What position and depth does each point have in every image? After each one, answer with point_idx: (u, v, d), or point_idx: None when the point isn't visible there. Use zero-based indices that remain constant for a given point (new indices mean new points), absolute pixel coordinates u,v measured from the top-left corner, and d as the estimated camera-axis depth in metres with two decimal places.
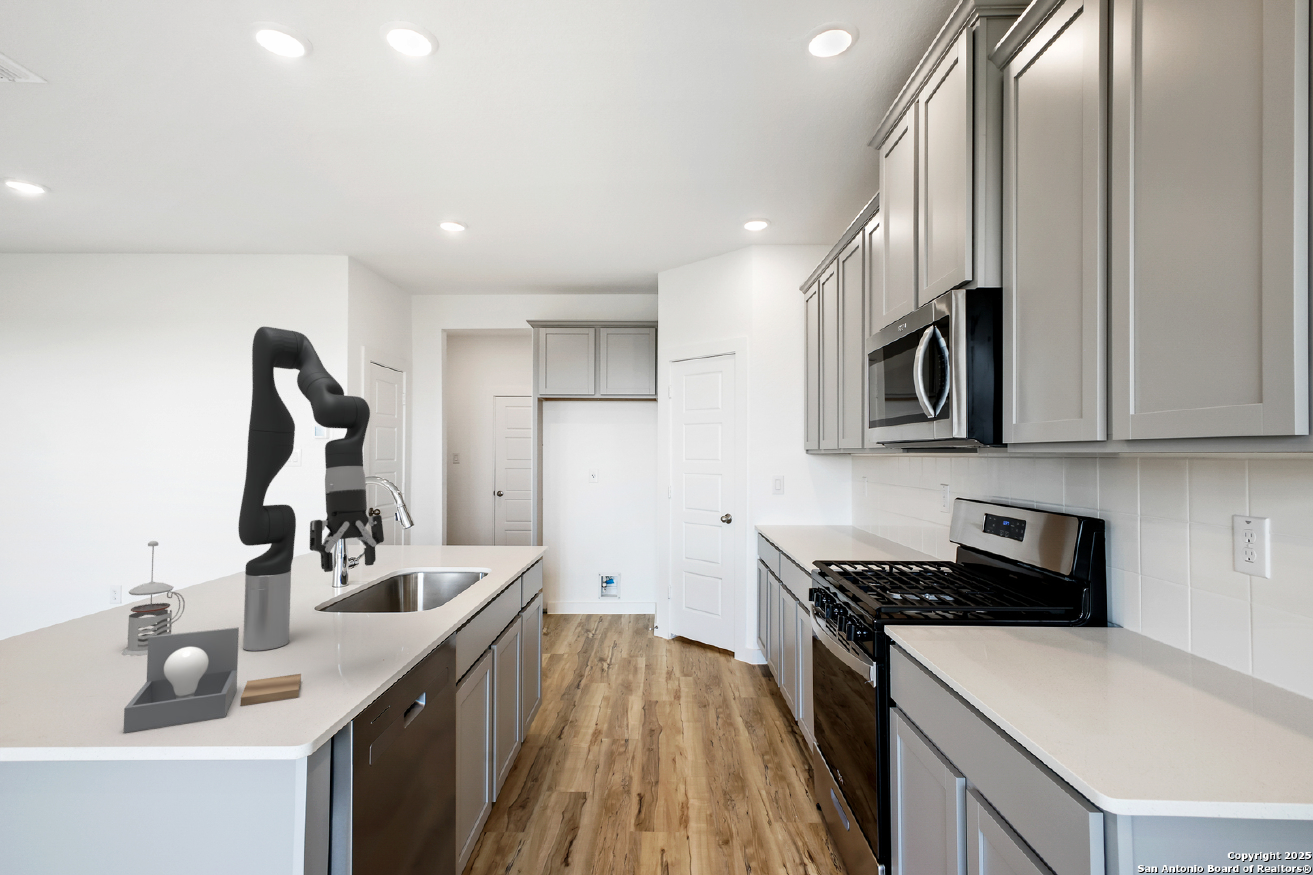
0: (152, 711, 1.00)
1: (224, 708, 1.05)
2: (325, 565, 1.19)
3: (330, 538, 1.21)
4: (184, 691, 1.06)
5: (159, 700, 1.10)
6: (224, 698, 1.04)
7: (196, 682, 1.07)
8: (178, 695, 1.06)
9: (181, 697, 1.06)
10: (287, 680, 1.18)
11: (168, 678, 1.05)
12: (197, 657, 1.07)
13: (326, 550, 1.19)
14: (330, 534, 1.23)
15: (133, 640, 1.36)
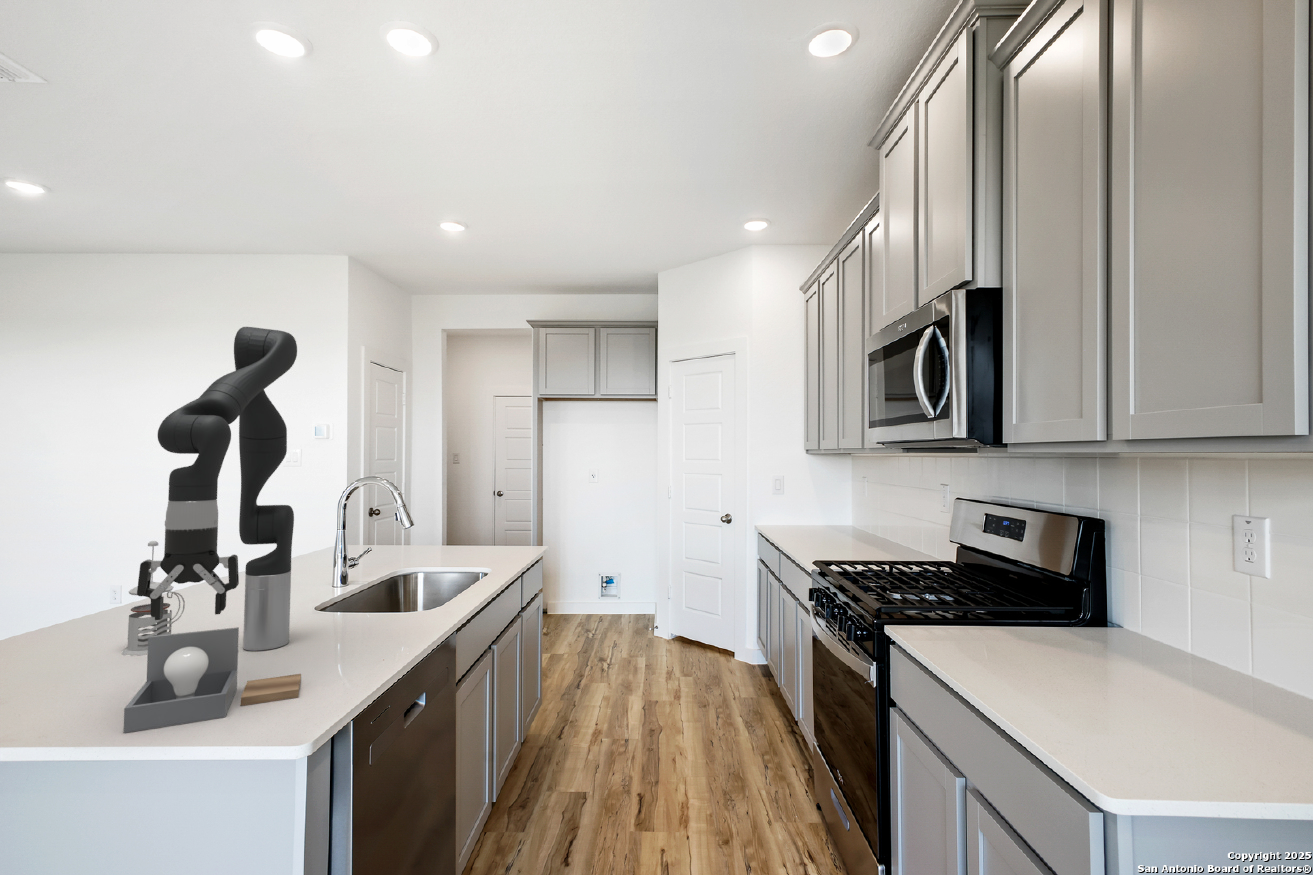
0: (152, 711, 1.00)
1: (224, 708, 1.05)
2: (151, 613, 1.05)
3: None
4: (184, 691, 1.06)
5: (159, 700, 1.10)
6: (224, 698, 1.04)
7: (196, 682, 1.07)
8: (178, 695, 1.06)
9: (181, 697, 1.06)
10: (287, 680, 1.18)
11: (168, 678, 1.05)
12: (197, 657, 1.07)
13: (151, 596, 1.04)
14: None
15: (133, 640, 1.36)
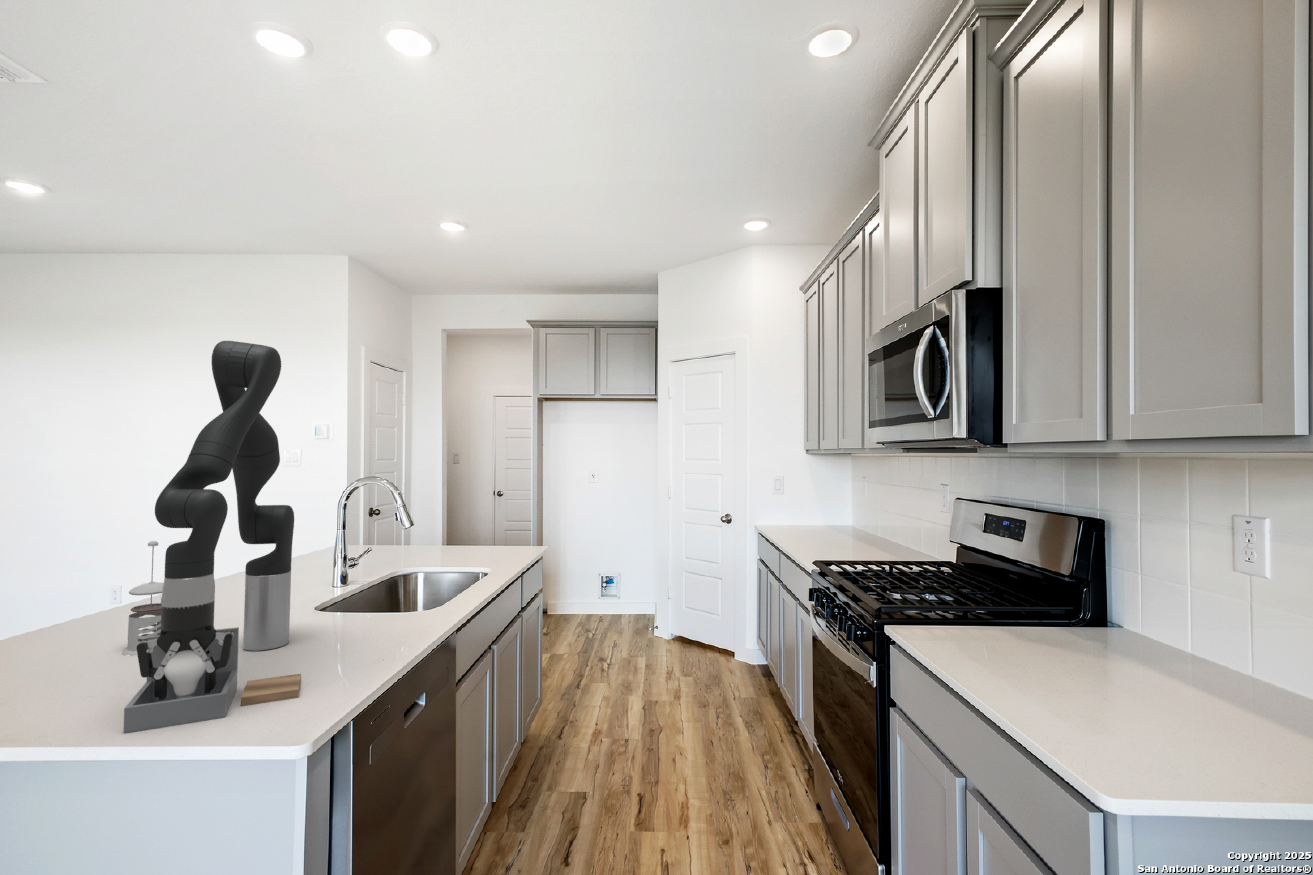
0: (152, 711, 1.00)
1: (224, 708, 1.05)
2: (155, 693, 1.05)
3: None
4: (184, 691, 1.06)
5: (159, 700, 1.10)
6: (224, 698, 1.04)
7: (196, 682, 1.07)
8: (178, 695, 1.06)
9: (181, 697, 1.06)
10: (287, 680, 1.18)
11: (168, 678, 1.05)
12: (197, 657, 1.07)
13: (155, 677, 1.05)
14: None
15: (133, 640, 1.36)
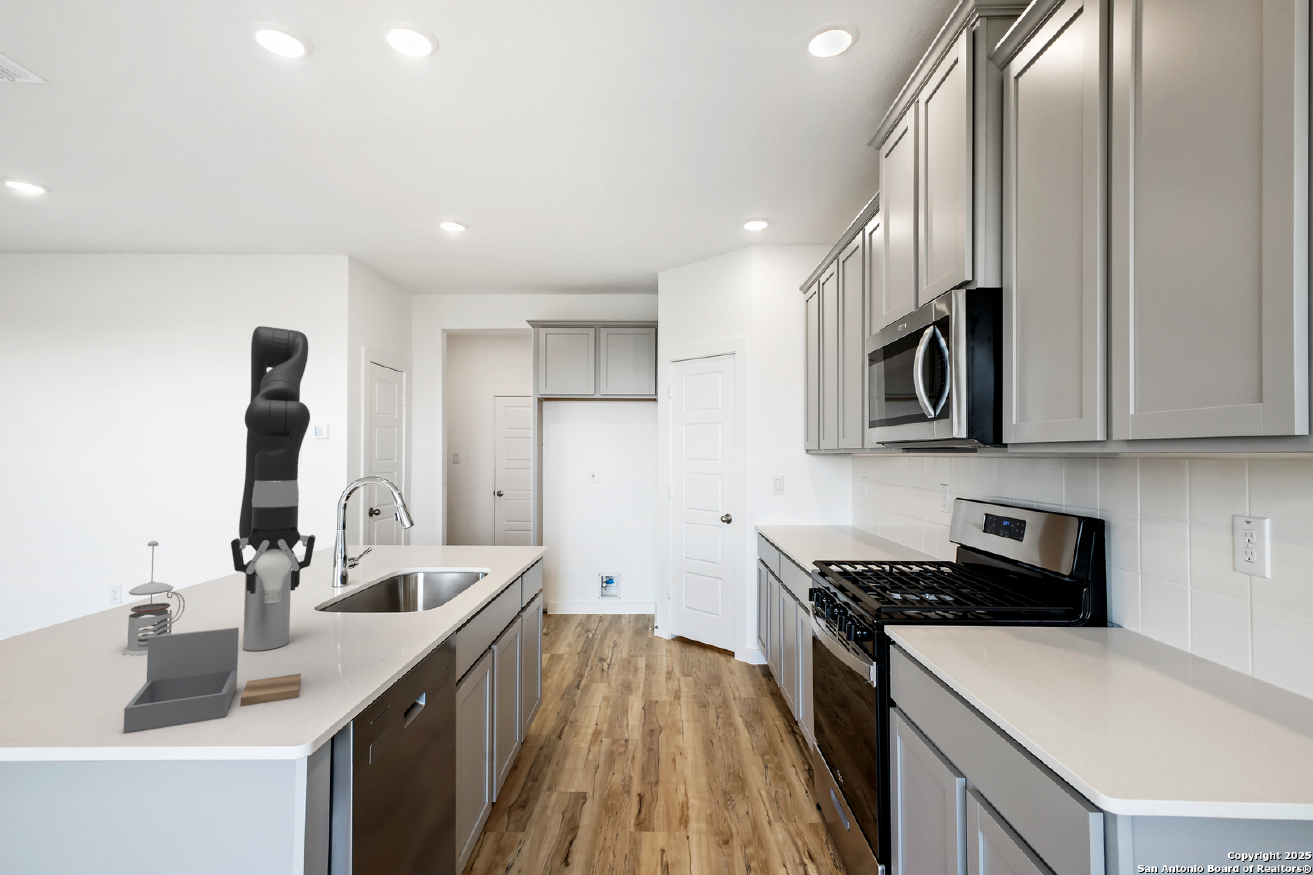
0: (152, 711, 1.00)
1: (224, 708, 1.05)
2: (247, 587, 1.13)
3: None
4: (273, 586, 1.14)
5: (159, 700, 1.10)
6: (224, 698, 1.04)
7: (283, 579, 1.16)
8: (267, 590, 1.14)
9: (270, 592, 1.14)
10: (287, 680, 1.18)
11: (259, 573, 1.13)
12: (284, 556, 1.15)
13: (247, 572, 1.13)
14: None
15: (133, 640, 1.36)
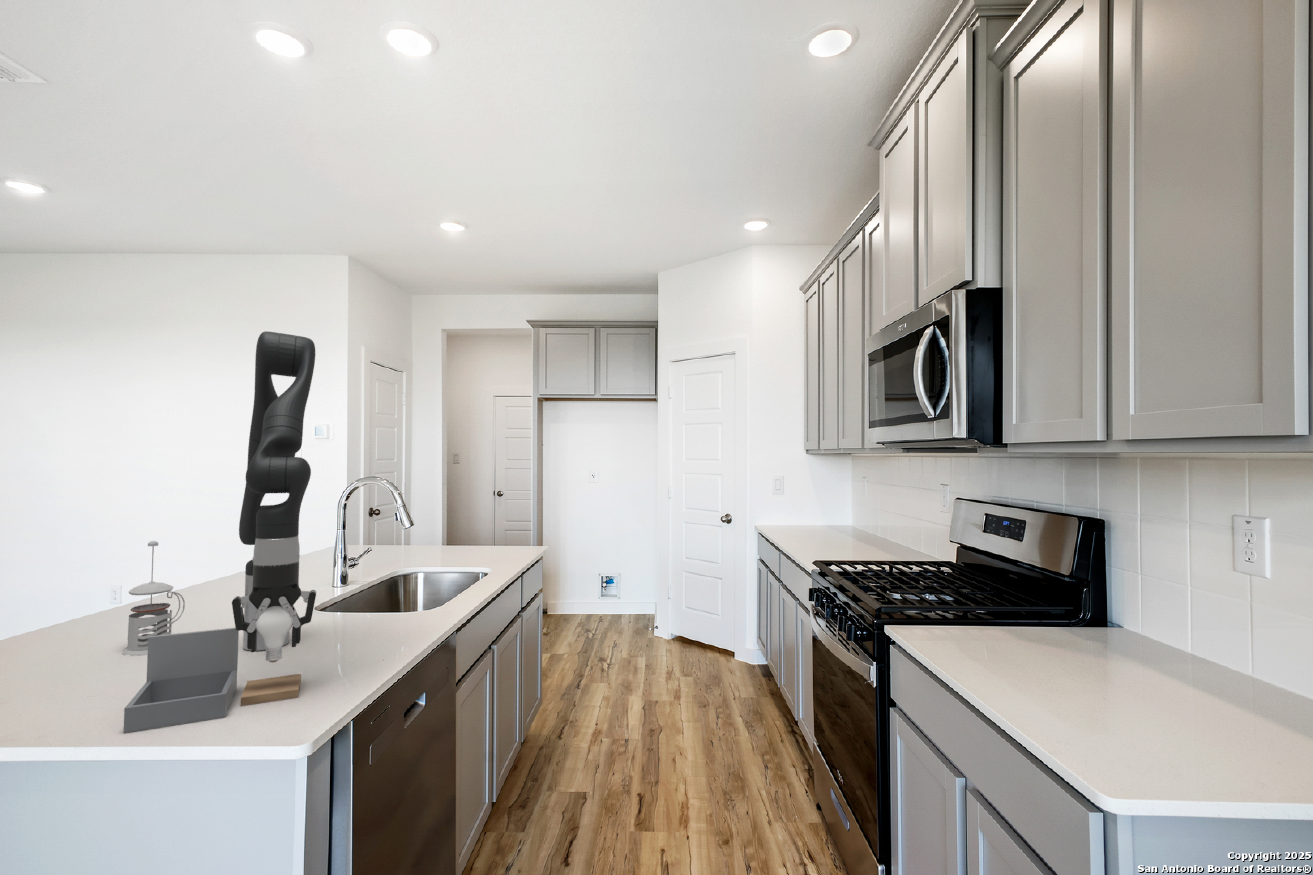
0: (152, 711, 1.00)
1: (224, 708, 1.05)
2: (248, 645, 1.13)
3: (253, 616, 1.14)
4: (274, 644, 1.14)
5: (159, 700, 1.10)
6: (224, 698, 1.04)
7: (284, 636, 1.15)
8: (268, 648, 1.14)
9: (271, 650, 1.14)
10: (287, 680, 1.18)
11: (260, 631, 1.13)
12: (285, 613, 1.15)
13: (248, 630, 1.13)
14: None
15: (133, 640, 1.36)
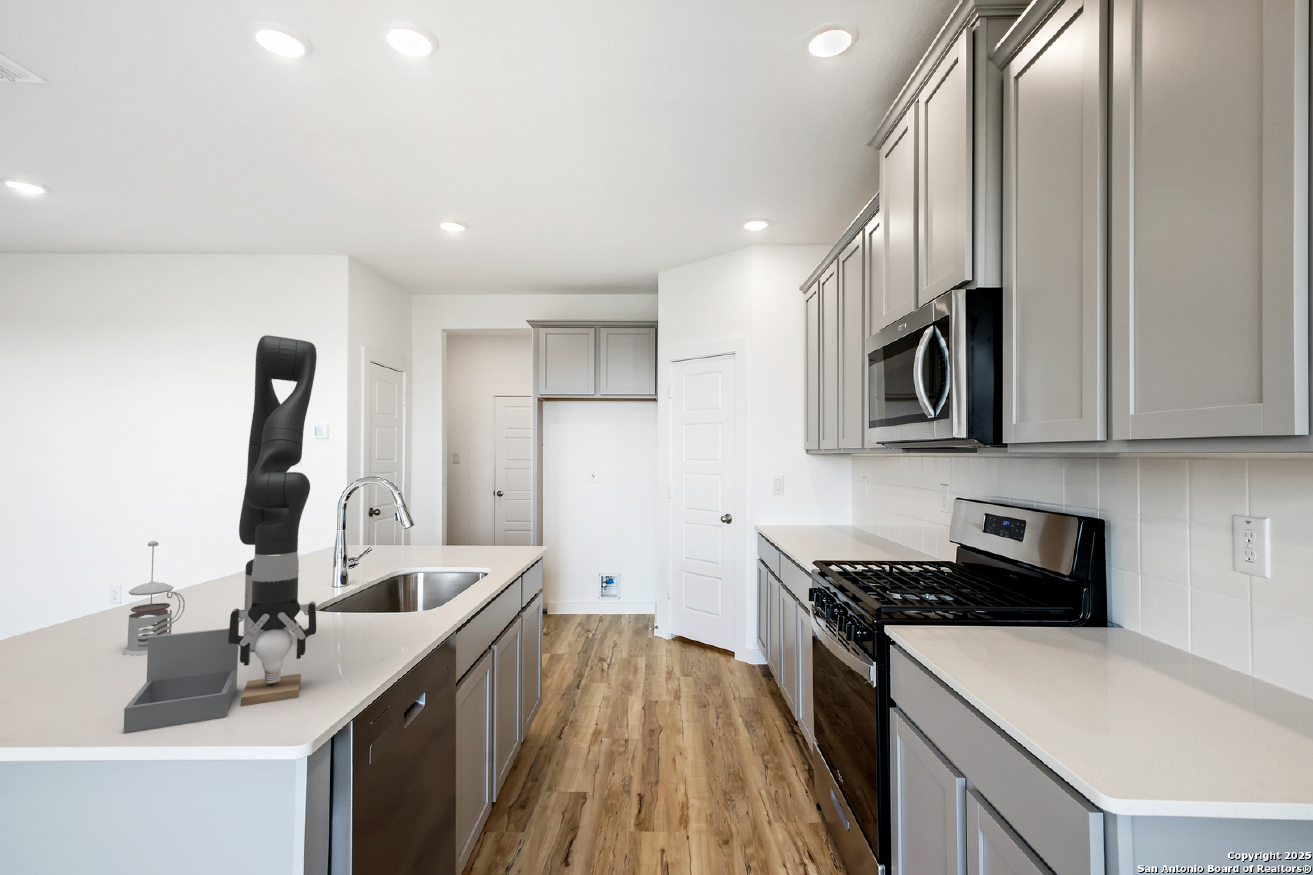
0: (152, 711, 1.00)
1: (224, 708, 1.05)
2: (240, 659, 1.12)
3: (249, 630, 1.13)
4: (272, 667, 1.14)
5: (159, 700, 1.10)
6: (224, 698, 1.04)
7: (282, 658, 1.16)
8: (267, 671, 1.14)
9: (269, 672, 1.14)
10: (287, 680, 1.18)
11: (258, 654, 1.13)
12: (283, 635, 1.15)
13: (241, 644, 1.12)
14: None
15: (133, 640, 1.36)
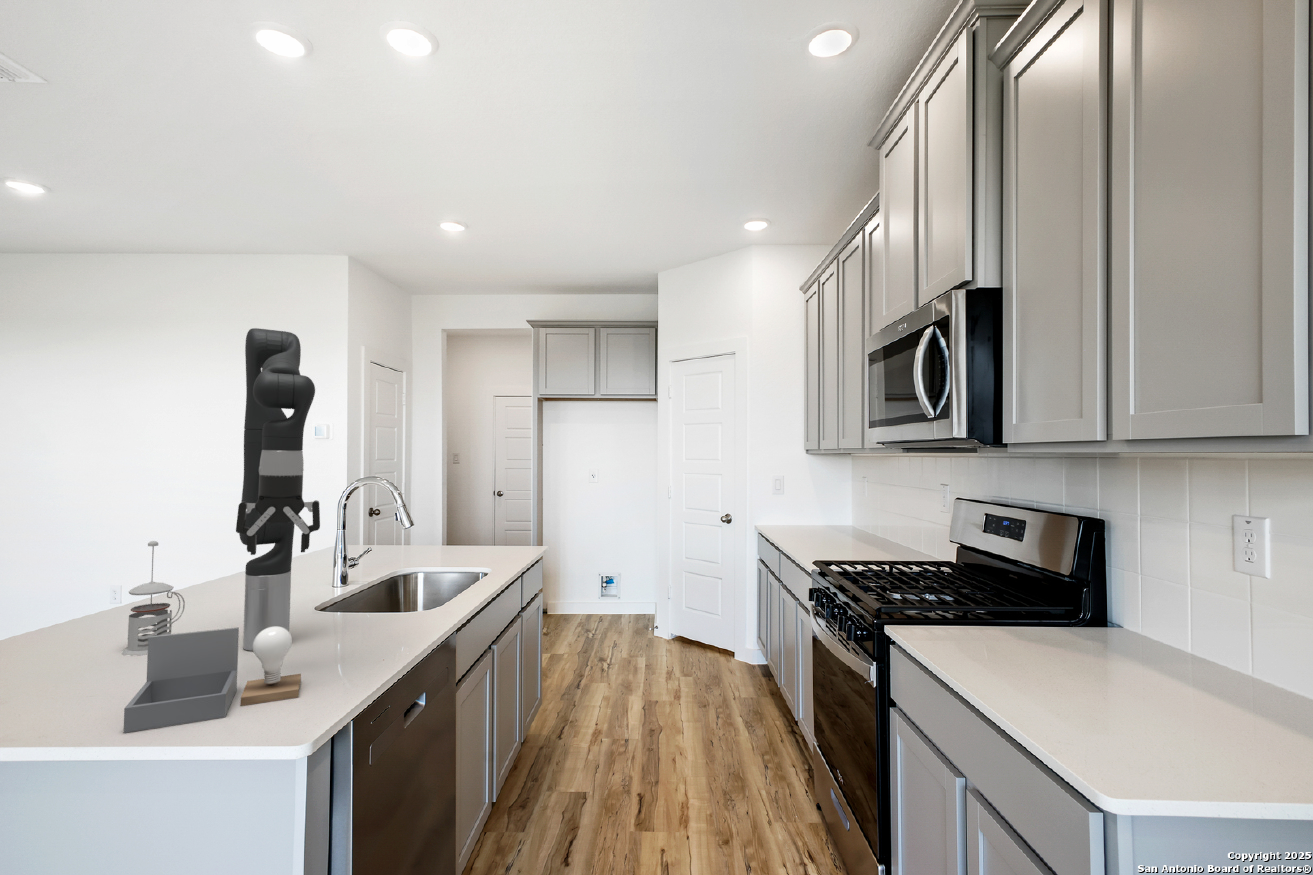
0: (152, 711, 1.00)
1: (224, 708, 1.05)
2: (247, 548, 1.18)
3: (256, 521, 1.19)
4: (272, 667, 1.14)
5: (159, 700, 1.10)
6: (224, 698, 1.04)
7: (282, 658, 1.15)
8: (267, 671, 1.14)
9: (269, 673, 1.14)
10: (287, 680, 1.18)
11: (258, 655, 1.13)
12: (282, 636, 1.15)
13: (248, 534, 1.18)
14: None
15: (133, 640, 1.36)
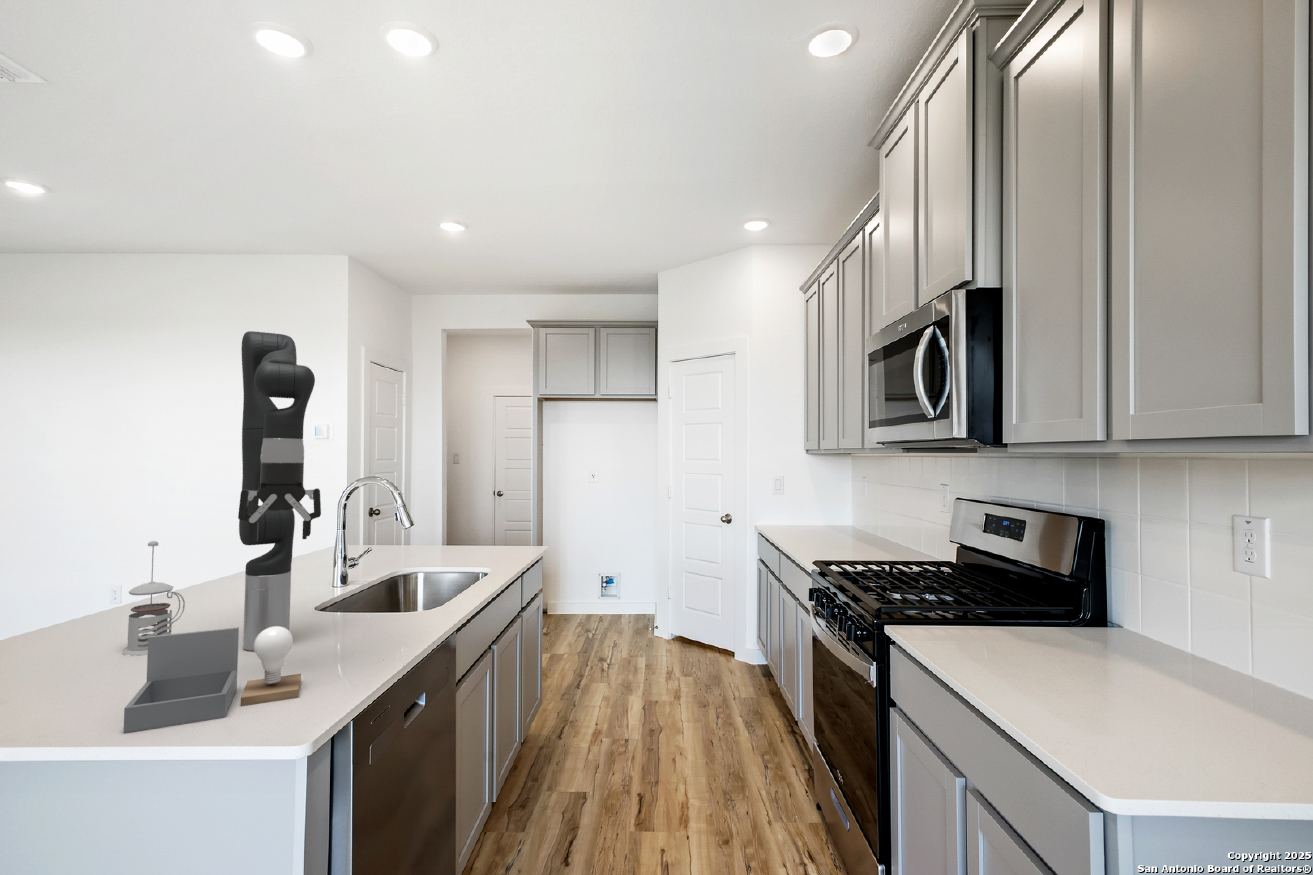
0: (152, 711, 1.00)
1: (224, 708, 1.05)
2: (250, 535, 1.20)
3: (258, 509, 1.21)
4: (272, 667, 1.14)
5: (159, 700, 1.10)
6: (224, 698, 1.04)
7: (283, 658, 1.16)
8: (267, 671, 1.14)
9: (270, 672, 1.14)
10: (287, 680, 1.18)
11: (259, 655, 1.13)
12: (284, 636, 1.15)
13: (250, 521, 1.20)
14: None
15: (133, 640, 1.36)
